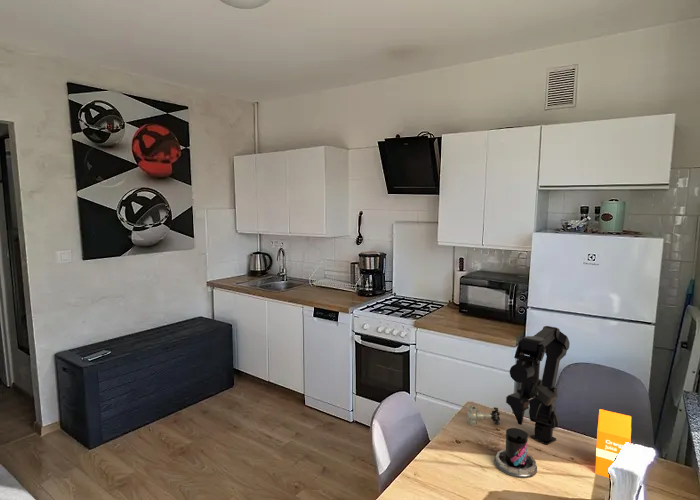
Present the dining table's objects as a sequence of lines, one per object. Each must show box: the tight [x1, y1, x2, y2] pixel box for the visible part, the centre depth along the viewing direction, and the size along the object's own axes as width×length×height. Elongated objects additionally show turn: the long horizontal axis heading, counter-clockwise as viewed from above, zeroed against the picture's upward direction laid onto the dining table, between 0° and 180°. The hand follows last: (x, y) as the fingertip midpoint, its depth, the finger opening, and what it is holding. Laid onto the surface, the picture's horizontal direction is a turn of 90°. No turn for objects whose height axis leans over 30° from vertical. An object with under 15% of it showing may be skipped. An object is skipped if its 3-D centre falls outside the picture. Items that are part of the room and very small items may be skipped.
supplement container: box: [505, 427, 529, 469], centre depth 139 cm, size 7×7×10 cm
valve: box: [466, 405, 501, 426], centre depth 167 cm, size 7×7×12 cm
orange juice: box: [594, 408, 632, 479], centre depth 135 cm, size 8×9×20 cm
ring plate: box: [494, 448, 538, 479], centre depth 139 cm, size 13×13×2 cm
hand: (527, 421), depth 143 cm, fingers open, 9 cm apart
